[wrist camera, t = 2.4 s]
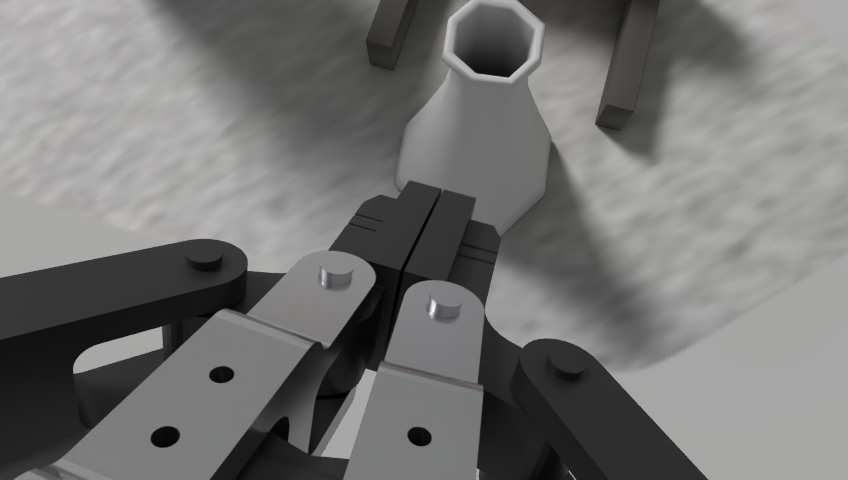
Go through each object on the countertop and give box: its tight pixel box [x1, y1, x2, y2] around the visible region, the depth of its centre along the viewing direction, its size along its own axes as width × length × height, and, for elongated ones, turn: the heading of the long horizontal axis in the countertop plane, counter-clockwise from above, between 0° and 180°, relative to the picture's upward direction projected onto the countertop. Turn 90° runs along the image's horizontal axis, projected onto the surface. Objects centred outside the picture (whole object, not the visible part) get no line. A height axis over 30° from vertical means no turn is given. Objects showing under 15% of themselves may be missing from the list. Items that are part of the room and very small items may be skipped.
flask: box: [394, 0, 551, 237], centre depth 24 cm, size 7×7×10 cm
